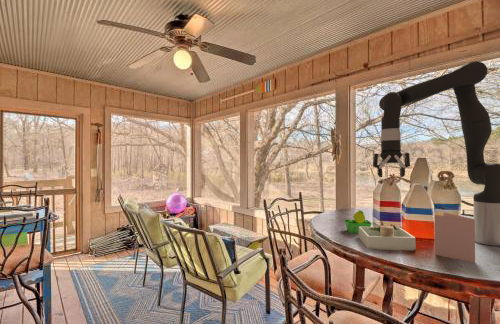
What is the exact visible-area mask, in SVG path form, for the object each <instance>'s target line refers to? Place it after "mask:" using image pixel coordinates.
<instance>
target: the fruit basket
mask: <svg viewBox="0 0 500 324" xmlns="http://www.w3.org/2000/svg"><path fill="white" fill-rule="evenodd" d="M364 213H365V212H364V211H363V210H357V211H356V212H355V213H354V214H353V217H352V219H344V223H345V226H346V229H347V231H348V232H349V233H351V234H354V233H355V234H359V227H372V222H371V221H369V220H367V219H366V216H365V214H364Z"/></svg>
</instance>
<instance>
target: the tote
mask: <svg viewBox="0 0 500 324" xmlns="http://www.w3.org/2000/svg"><path fill="white" fill-rule="evenodd" d="M374 227H376V228H378V227H379V226H371V227H359V233H358V238H359V239H360V241H361V242H362V243H363V244H364V246H365V247H366V248H367V250H387V251H391V250H392V251H416V249H417V248H416V243H417V242H416V237H415V236H414V235H412V234H410V233H409V232H407V231H406V230H405V229H403V228H401V226H397V227H396V226H395V227H396V228H397V230H395V229H394V237H387V236H379V235H380V233H379V232H378V231H375V230H370V228H374Z"/></svg>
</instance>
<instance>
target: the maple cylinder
mask: <svg viewBox="0 0 500 324" xmlns="http://www.w3.org/2000/svg"><path fill="white" fill-rule="evenodd" d="M379 227H380V236H387V237H394V227H393V226H392V227H391V226H390V225H389V226H387V225H384V226H382V225H380V226H379Z"/></svg>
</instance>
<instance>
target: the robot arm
mask: <svg viewBox="0 0 500 324" xmlns="http://www.w3.org/2000/svg"><path fill="white" fill-rule="evenodd" d="M488 71H489V70H488V67H487V65H486V63H484V62H482V61H469V62H466V63H464V64H462V65H460V66H458V67H456V68H455V69H454V70H453V71H451V72H448V73H446V74H443V75H440V76H438V77H434V78H431V79H428V80H425V81H421V82H418V83H416V84H413V85H410V86H407V87H405V88H404V89H402V90H399V91H391V92H388V93H386V94H385V95H384V96H382V97H381V98H380V99H379V101H378V102H379V103H378V105H379V106H378V107H379V108H380V109H381V110H382V111H383V116H382V118H381V121H380V122H381V124H380V125H381V129H380V130H381V131H380V153H373V157H372V167H373V168H376V169H377V176H378V177H379V178H383V167H384V166H385V165H386V164H397V165H398V167H400V168H399V177H400V178H404V177H405V176H406V168H408V167H411V158H410V152H404V153H403V152H402V151H401V150H402V147H401V146H402V145H401V144H402V140H401V139H402V138H401V137H402V136H401V129H400V127H401V122H400V116H401V112H402V107H403V106H406V105H408V104H411V103H417V102H418V101H421V100H425V99H428V98H430V97H433V96H435V95H438V94H439V93H442V92H443V93H444V92H445V91H448V90H451V89H453V92H454V97H455V98H456V101H457V109H458V113H459V118H460V119H459V120H460V125H461V129H462V130H461V131H462V135H463V139H464V145H465V153H466V167H467V168H466V169H467V176H468V179H469V180H470V182H471V183H472V184H474V185H475V184H476V185H482V186H484V188H483V190H482V191H481V192H476V193H474V195H473V197H472V198H473V219H475V243H478V244H483V245H486V246H495V247H496V246H497V247H500V163H492V162H486V161H485V156H484V155H485V154H484V152H485V147H486V146H487V143H488V141H489V140H490V137H491V134H492V124H491V118H490V117H491V116H490V115H489V112H488V111H487V108H485V107H484V105H483V104H482V103H481V101H480V100H479V97H478V95H477V92H476V86H475V85H477V84H479V83H481V82H482V81H483V80H484V79H485V78H486V77H487V75H488ZM379 158H381V160H380V162H379V161H378V160H379ZM401 158H403V161H404V162H403V161H402V160H401ZM378 162H379V164H378Z"/></svg>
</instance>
